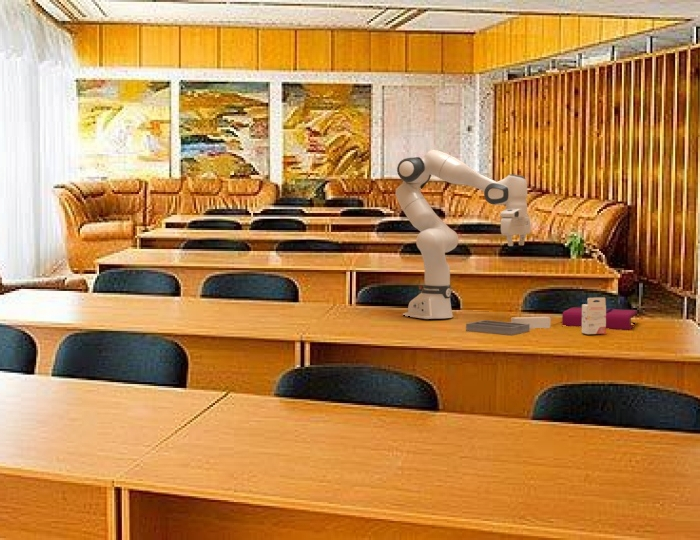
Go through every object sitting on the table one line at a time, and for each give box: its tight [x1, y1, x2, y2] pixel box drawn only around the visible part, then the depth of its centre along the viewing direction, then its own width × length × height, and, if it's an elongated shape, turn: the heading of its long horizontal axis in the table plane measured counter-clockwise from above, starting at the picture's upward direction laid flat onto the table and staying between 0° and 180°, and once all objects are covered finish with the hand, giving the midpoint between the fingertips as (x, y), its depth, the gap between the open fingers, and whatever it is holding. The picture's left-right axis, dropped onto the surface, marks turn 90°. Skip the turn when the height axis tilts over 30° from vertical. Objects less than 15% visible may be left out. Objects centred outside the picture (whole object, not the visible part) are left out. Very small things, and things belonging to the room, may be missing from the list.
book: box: [561, 306, 638, 331], centre depth 452 cm, size 21×28×8 cm
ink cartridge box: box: [581, 297, 607, 335], centre depth 429 cm, size 9×5×15 cm, turn 105°
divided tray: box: [465, 319, 530, 336], centre depth 434 cm, size 21×15×3 cm
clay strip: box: [510, 316, 552, 330], centre depth 443 cm, size 16×4×5 cm, turn 104°
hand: (515, 245), depth 451 cm, fingers open, 8 cm apart
